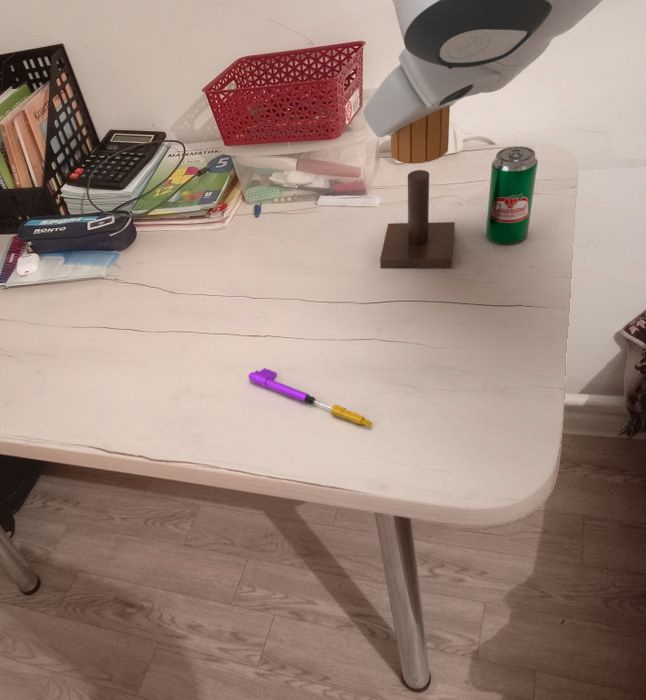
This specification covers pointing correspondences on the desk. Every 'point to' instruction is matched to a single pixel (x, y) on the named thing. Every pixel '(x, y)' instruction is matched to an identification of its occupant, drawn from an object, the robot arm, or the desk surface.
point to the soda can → (511, 194)
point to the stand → (418, 233)
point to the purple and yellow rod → (302, 395)
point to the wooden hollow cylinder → (422, 138)
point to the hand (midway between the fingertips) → (416, 116)
